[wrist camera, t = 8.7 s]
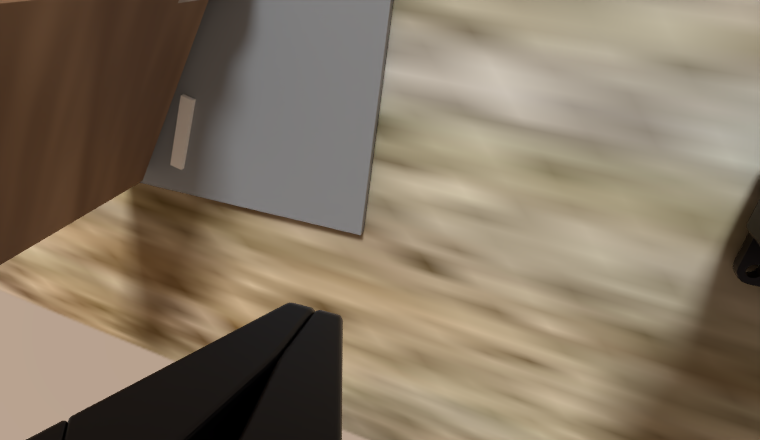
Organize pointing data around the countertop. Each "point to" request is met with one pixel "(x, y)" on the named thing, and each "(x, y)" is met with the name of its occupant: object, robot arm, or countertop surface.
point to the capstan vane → (82, 104)
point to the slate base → (279, 109)
